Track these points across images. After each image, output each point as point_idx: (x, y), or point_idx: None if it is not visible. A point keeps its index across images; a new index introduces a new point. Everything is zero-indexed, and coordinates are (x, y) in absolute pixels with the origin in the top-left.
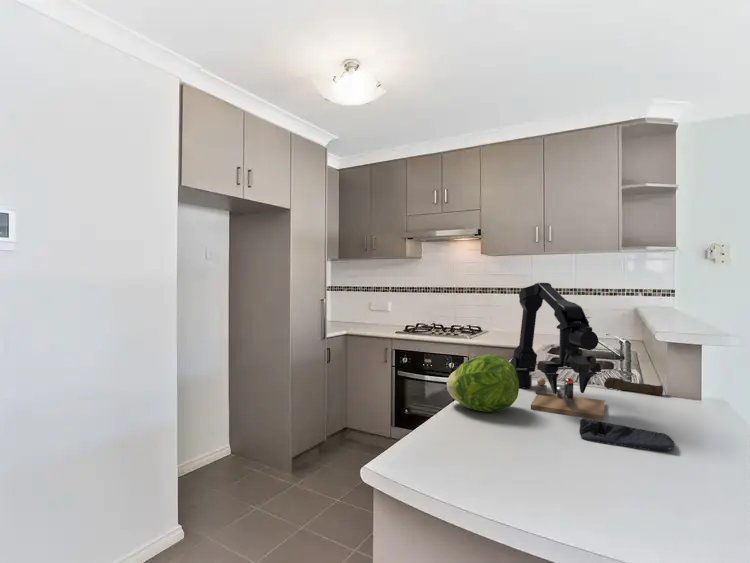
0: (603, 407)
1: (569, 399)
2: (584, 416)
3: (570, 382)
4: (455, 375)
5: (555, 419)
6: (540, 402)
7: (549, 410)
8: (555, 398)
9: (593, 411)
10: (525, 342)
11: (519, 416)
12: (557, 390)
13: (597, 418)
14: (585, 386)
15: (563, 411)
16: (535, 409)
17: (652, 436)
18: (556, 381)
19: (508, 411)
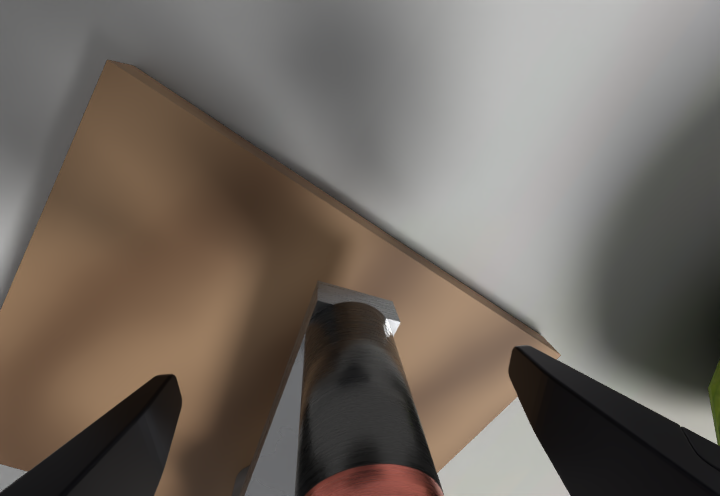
0: (14, 295)
1: (357, 303)
2: (271, 157)
3: (390, 483)
4: None
5: (520, 138)
6: (465, 396)
7: (468, 289)
8: None
9: (160, 195)
10: None
11: (703, 215)
12: None
13: (176, 97)
14: (77, 445)
15: (399, 247)
16: (525, 325)
17: None
18: (701, 476)
19: (690, 303)
